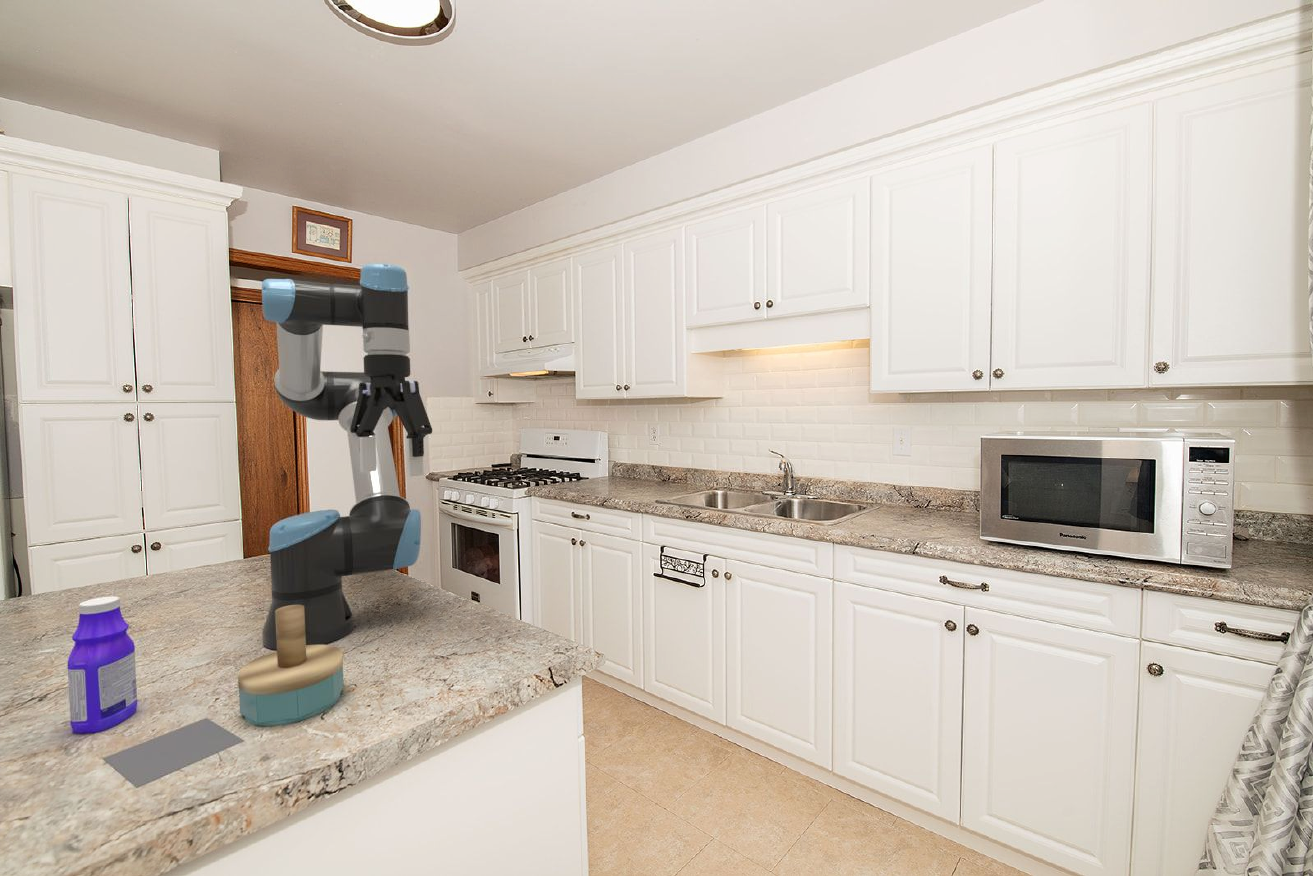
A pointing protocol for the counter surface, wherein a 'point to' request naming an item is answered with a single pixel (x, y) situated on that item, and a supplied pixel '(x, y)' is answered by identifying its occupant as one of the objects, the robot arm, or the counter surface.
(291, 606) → the lid
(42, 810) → the counter surface
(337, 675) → the bowl
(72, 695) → the bottle
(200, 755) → the mat
